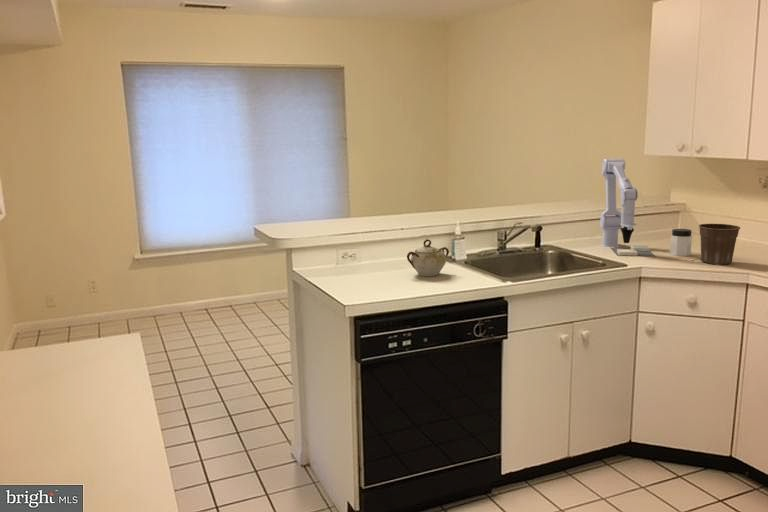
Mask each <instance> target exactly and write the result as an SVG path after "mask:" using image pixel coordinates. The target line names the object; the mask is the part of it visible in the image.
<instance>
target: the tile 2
mask: <svg viewBox="0 0 768 512" xmlns="http://www.w3.org/2000/svg"><path fill="white" fill-rule="evenodd" d="M629 248H630V249H631V250H636V251H650V252H651V247H650V246H648V245H629Z"/></svg>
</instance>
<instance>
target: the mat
mask: <svg viewBox="0 0 768 512" xmlns="http://www.w3.org/2000/svg"><path fill="white" fill-rule="evenodd" d="M610 249H611V251H613V253H614V254H615V255H616V256H617V257H629V256H628V255H619V254H618V253H617V249H629V250H631V249H630V247H610ZM637 252H638V256H637V257H644V258H645V257H646V258H647V257H651V258H653V257H655V258H657V256H656V254H654V253H653V252H651V250H650V251H637Z"/></svg>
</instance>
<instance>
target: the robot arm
mask: <svg viewBox="0 0 768 512" xmlns="http://www.w3.org/2000/svg"><path fill="white" fill-rule="evenodd" d="M625 169H626V161H625V158H604V159H603V160H602V164H601V175H602V176H603V177H604V178H605V206H606V207H605V210H604V211H602V212H601V213H600V219H599V226H600V227H601V229H602V232H603V233H602V243H603V244H601V243H600V245H601V246H602V247H604V248H620V245H619V244H618V243H619V230H620V231H621V235H622V240H623V243H624V244H629V243H630V242H631V241H630V240H631V238H632V235H633V232H634V231H635V228H634V227H635V226H637V223H635V209H636V207H635V206H636V201H637V200H638V197H639V196H638V195H639V193H638V190H637V188H636V187H633V185H632V183H631V180H630V178H629V177H627V176H626V173H625V172H626V171H625ZM617 186H618V189H619V191H620V194H619V196H620V197H619V198H620V205H621V211H619V210H618V209H617Z"/></svg>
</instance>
